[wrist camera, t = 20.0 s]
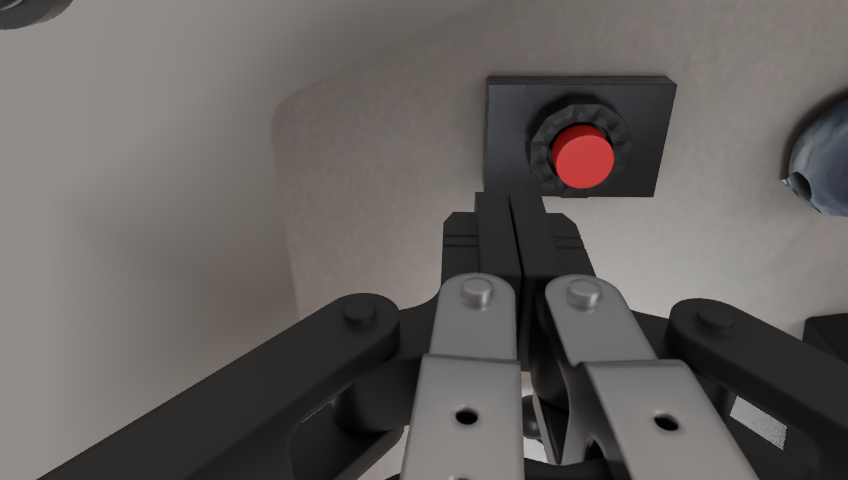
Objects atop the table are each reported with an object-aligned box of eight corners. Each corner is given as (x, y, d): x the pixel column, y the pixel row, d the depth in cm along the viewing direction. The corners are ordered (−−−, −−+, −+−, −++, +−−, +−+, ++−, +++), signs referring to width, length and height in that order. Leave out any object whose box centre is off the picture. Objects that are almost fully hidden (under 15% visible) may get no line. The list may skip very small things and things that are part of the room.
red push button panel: (482, 183, 42) (485, 207, 39) (487, 76, 38) (490, 92, 34) (644, 184, 41) (661, 208, 38) (666, 76, 37) (687, 92, 34)
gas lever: (508, 401, 50) (498, 420, 46) (539, 380, 48) (530, 398, 45) (616, 531, 48) (613, 561, 45) (651, 514, 46) (651, 543, 43)
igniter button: (548, 175, 38) (553, 188, 36) (554, 124, 36) (559, 135, 34) (602, 176, 37) (609, 189, 36) (610, 124, 36) (618, 135, 34)
